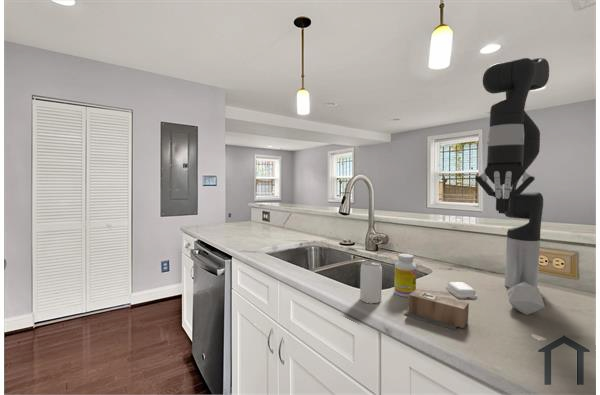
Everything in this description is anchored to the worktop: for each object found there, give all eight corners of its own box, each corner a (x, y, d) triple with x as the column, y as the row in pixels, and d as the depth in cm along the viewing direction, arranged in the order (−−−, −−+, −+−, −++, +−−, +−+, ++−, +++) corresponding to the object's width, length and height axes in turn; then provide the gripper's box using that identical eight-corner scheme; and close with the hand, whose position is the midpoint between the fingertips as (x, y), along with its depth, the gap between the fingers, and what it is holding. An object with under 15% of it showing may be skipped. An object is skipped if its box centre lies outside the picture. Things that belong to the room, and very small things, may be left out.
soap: (444, 288, 106) (444, 280, 106) (463, 288, 107) (464, 280, 106) (457, 299, 98) (458, 290, 97) (479, 299, 98) (479, 290, 97)
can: (375, 306, 91) (375, 266, 91) (356, 300, 96) (356, 262, 95) (385, 299, 96) (385, 262, 95) (366, 294, 101) (367, 258, 100)
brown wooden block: (468, 321, 81) (415, 306, 90) (468, 301, 81) (415, 288, 90) (463, 328, 77) (408, 312, 87) (464, 307, 77) (408, 293, 86)
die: (515, 304, 94) (498, 280, 93) (548, 297, 89) (530, 271, 88) (519, 324, 88) (501, 298, 87) (554, 317, 83) (535, 290, 82)
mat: (418, 302, 94) (418, 301, 94) (465, 315, 86) (465, 313, 86) (404, 314, 86) (404, 313, 86) (454, 330, 77) (454, 328, 77)
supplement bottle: (415, 299, 97) (416, 258, 96) (393, 296, 99) (394, 256, 98) (415, 291, 103) (416, 253, 102) (394, 288, 105) (395, 252, 104)
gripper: (540, 143, 75) (536, 213, 77) (479, 146, 84) (476, 209, 86) (537, 141, 70) (533, 217, 71) (472, 145, 79) (469, 212, 80)
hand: (502, 213), depth 78 cm, fingers closed
